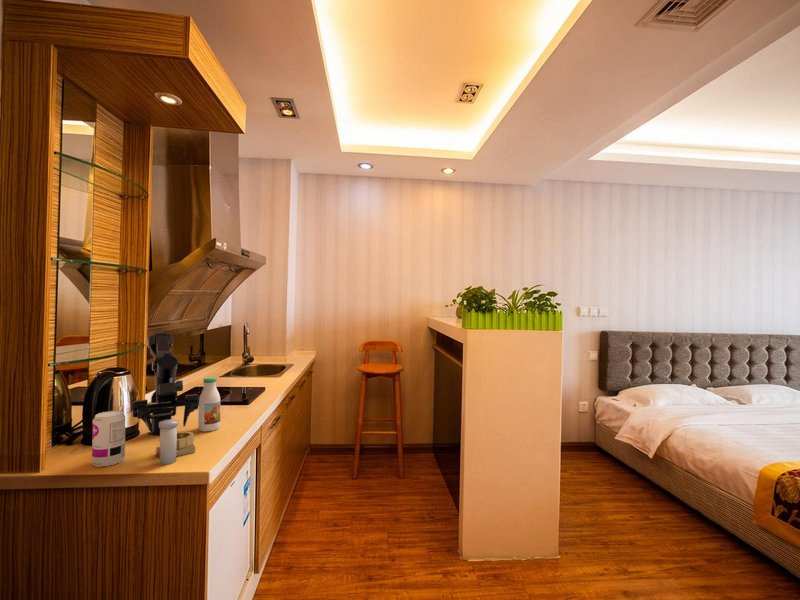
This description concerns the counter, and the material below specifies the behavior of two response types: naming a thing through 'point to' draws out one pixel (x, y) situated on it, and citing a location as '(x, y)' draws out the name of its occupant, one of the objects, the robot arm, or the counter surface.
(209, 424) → the milk bottle
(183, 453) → the valve body
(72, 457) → the counter surface
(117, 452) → the supplement can
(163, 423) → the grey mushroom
